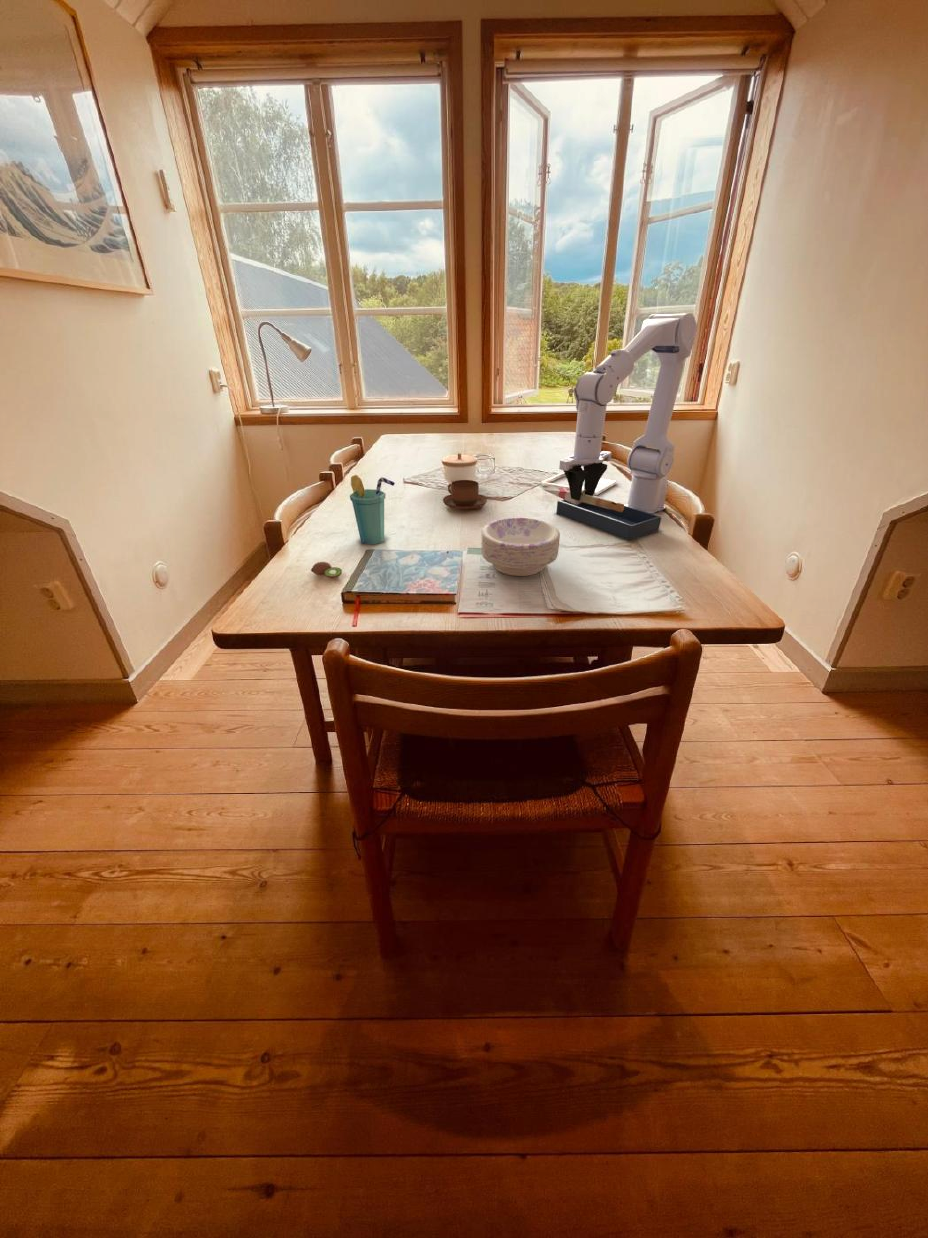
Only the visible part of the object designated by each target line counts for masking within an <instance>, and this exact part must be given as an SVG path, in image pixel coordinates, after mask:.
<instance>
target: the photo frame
mask: <svg viewBox="0 0 928 1238" xmlns="http://www.w3.org/2000/svg"><path fill="white" fill-rule="evenodd" d="M562 477H566V475H565V473H564V471H563V472H560V473H558V474H556V475H553V476H551V477H549V478H547V479H544V480H543V481H541V482H540V486H543V487H557V488H569V485H564V484H558V483H553V481H556V480H558V479H560V478H562ZM615 485H617V480H613V479H608V478H602V477H601V478H600V480H599V482H598V485H597V487H596V490H595V492H594V495H593V496H597V495H599V494H601V493H603V492H605V491H607V490H608V489H610V488H611V487H613V486H615ZM582 489H584V486H582Z"/></svg>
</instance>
